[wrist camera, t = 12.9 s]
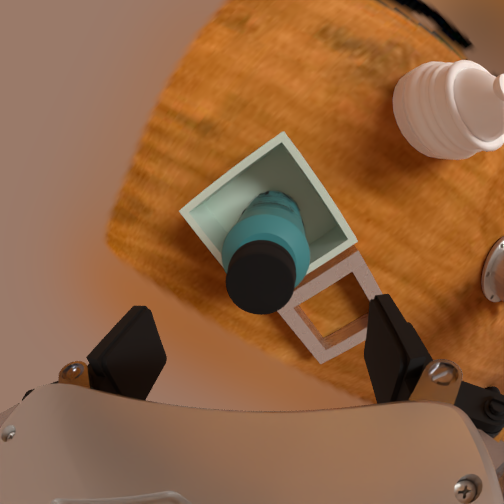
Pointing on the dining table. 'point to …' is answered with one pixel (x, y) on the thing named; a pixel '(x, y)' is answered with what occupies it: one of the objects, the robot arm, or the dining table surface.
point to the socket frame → (319, 281)
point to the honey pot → (450, 109)
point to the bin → (271, 178)
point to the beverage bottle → (266, 254)
